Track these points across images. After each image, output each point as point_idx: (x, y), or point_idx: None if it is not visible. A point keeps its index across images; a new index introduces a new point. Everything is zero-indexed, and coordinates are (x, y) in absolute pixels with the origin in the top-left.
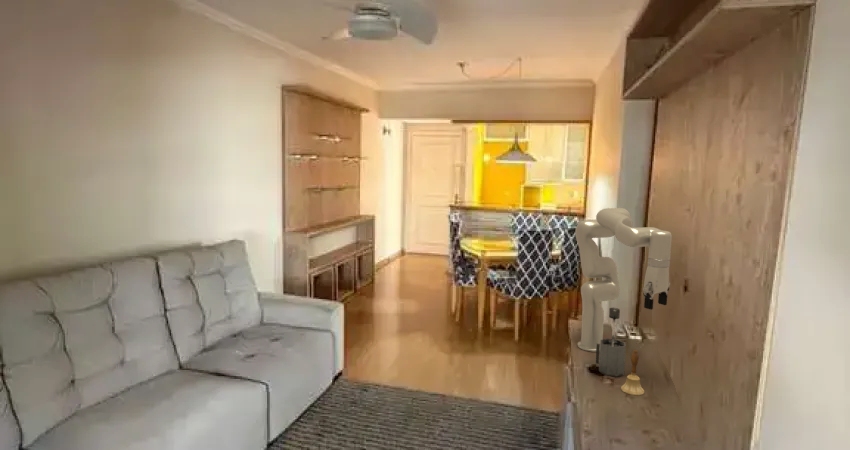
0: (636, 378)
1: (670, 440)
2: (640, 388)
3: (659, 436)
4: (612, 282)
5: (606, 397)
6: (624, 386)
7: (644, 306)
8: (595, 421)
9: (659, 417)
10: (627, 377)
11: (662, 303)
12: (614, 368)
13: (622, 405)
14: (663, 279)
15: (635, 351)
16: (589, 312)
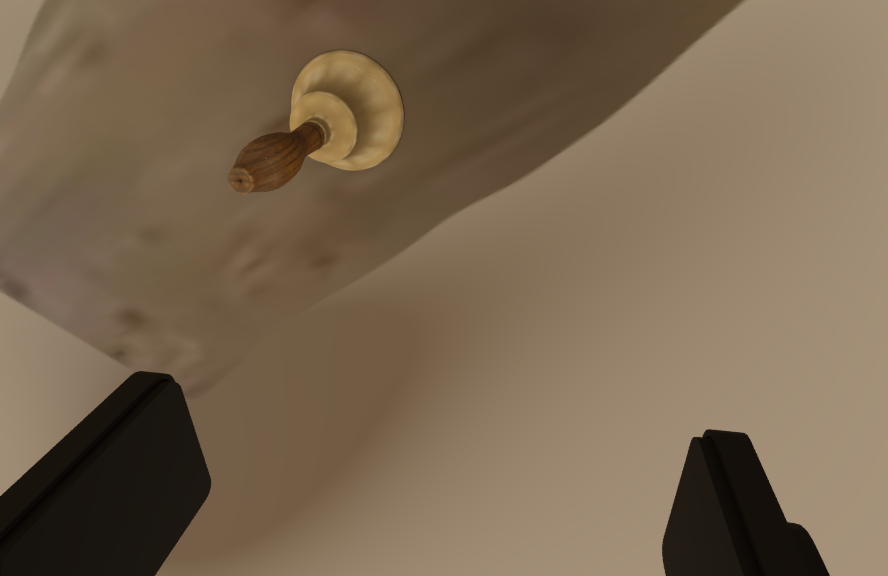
0: (315, 155)
1: None
2: (348, 160)
3: (152, 355)
4: None
5: (173, 78)
6: (301, 89)
7: (129, 385)
8: (5, 179)
9: (247, 306)
10: (294, 105)
11: (679, 522)
12: None
13: (187, 171)
14: None
15: (232, 187)
16: None
